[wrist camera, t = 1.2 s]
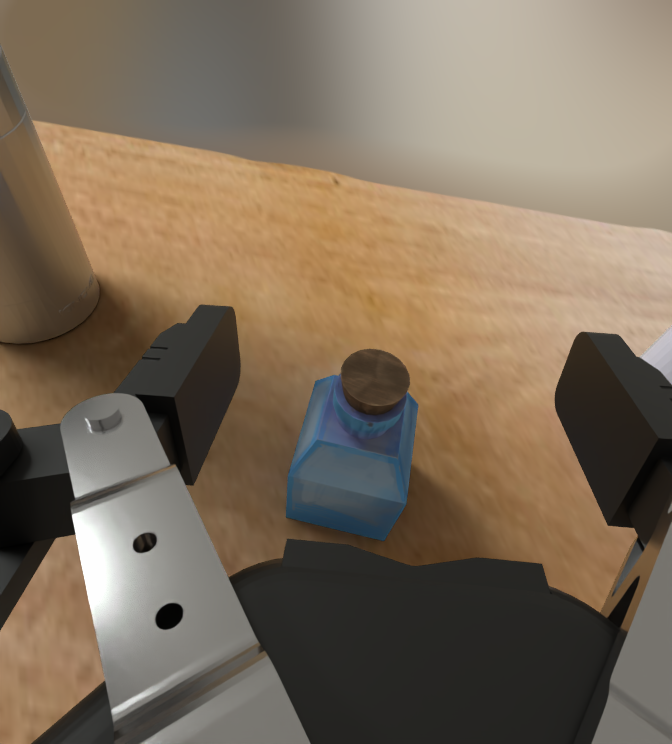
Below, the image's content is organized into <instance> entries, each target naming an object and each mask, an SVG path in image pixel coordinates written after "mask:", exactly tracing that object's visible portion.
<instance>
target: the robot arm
mask: <svg viewBox="0 0 672 744" xmlns="http://www.w3.org/2000/svg"><path fill="white" fill-rule="evenodd" d="M99 296H100V287H99V284H98V282H97V279H96V276H95V274H94V272H93V269H92V267H91V264H90V262H89V259H88V257H87V254H86V252H85V249H84V247H83V244H82V241H81V239H80V237H79V234H78V232H77V229H76V227H75V224H74V222H73V219H72V217H71V215H70V212H69V210H68V207H67V205H66V202H65V200H64V197H63V195H62V193H61V190H60V188H59V185H58V183H57V180H56V178H55V175H54V173H53V171H52V168H51V166H50V163H49V161H48V158H47V156H46V153H45V151H44V149H43V146H42V144H41V141H40V139H39V136H38V134H37V131H36V129H35V127H34V124H33V122H32V119H31V117H30V114H29V112H28V110H27V107H26V105H25V103H24V100H23V98H22V95H21V93H20V91H19V88H18V86H17V83H16V81H15V78H14V76H13V73H12V71H11V69H10V66H9V64H8V61H7V59H6V57H5V54H4V51H3V49H2V47H1V45H0V342H4V343H15V344H21V343H34V342H39V341H44V340H48V339H51V338H54V337H57V336H59V335H62V334H64V333H66V332H68V331H70V330H72V329H73V328H75V327H76V326H77V325H79V324H80V323H82V322H83V321H84V320H85V319H86V318H87V317H88V316H89V315H90V314H91V313H92V311H93V310H94V308H95V307H96V305H97V302H98V299H99ZM240 367H241V365H240V353H239V344H238V334H237V325H236V316H235V312H234V309H233V308H232V307H229V306H215V305H199V306H198V308H197V309H196V310H195V312H194V313H193V315H192V316H191V317H190V319H189V320H188V321H187V323H186V324H182V323H177V324H175V325H174V326H172V327H171V328H169V329H167V330H166V331H164V332H162V333H161V334H160V335H159V336H158V337H157V339H156V340H155V341H154V342H153V344H152V345H151V346H150V349H148V350H147V351H146V353H145V354H144V355H143V356H142V360H139V361H138V363H137V364H136V365H135V366H134V368H133V369H132V370H131V372H130V373H129V374H128V375H127V377H126V378H125V379H124V380H123V382H122V383H121V384H120V386H119V387H118V388H117V389H116V391H115V392H114V393H111V394H104V395H99V396H96V397H93V398H90V399H87V400H85V401H83V402H81V403H79V404H77V405H76V406H75V407H73V408H72V409H71V410H70V411H69V412H67V414H66V415H65V416H64V417H63V419H62V421H61V423H60V424H54V425H46V426H39V427H32V428H24V429H16V427H15V425H14V423H13V421H12V419H11V417H10V415H9V414H8V413H6V412H5V411H3V410H0V630H1V628H2V627H3V625H4V623H5V622H6V620H7V618H8V617H9V615H10V613H11V612H12V610H13V608H14V607H15V605H16V603H17V602H18V600H19V598H20V597H21V595H22V593H23V592H24V590H25V588H26V587H27V585H28V583H29V582H30V580H31V578H32V577H33V575H34V573H35V572H36V570H37V568H38V567H39V565H40V563H41V562H42V560H43V559H44V557H45V555H46V554H47V552H48V550H49V549H50V547H51V545H52V544H53V542H54V540H55V539H56V538H58V537H64V536H69V535H74V534H76V538H77V543H78V548H79V553H80V558H81V563H82V568H83V573H84V578H85V583H86V588H87V593H88V598H89V603H90V608H91V613H92V618H93V623H94V628H95V633H96V638H97V642H98V647H99V652H100V657H101V662H102V667H103V672H104V677H105V681H104V682H103V683H101V684H100V685H99V686H98V687H97V688H96V689H94V690H93V691H92V692H91V693H90V694H89V695H87V696H86V697H85V698H84V699H83V700H82V701H80V702H79V703H78V704H77V705H76V706H75V707H73V708H72V709H71V710H70V711H69V712H68V713H66V714H65V715H64V716H63V717H62V718H61V719H59V720H58V721H57V722H56V723H55V724H54V725H52V726H51V727H50V728H49V729H48V730H47V731H45V732H44V733H43V734H42V735H41V736H40V737H38V738H37V739H36V740H35V741H34V742H33V743H31V744H672V385H671V383H670V382H669V381H668V380H667V379H666V377H665V376H664V375H663V374H662V373H661V371H659V370H658V369H656V368H655V367H653V366H652V365H650V364H649V363H647V362H646V361H645V360H643V359H642V358H640V357H636V356H635V354H634V353H633V352H632V351H631V349H630V348H629V347H628V345H627V344H626V343H625V342H624V340H623V339H622V338H621V337H620V336H619V335H617V334H607V333H592V332H581V333H579V334H578V335H577V336H576V338H575V340H574V342H573V345H572V347H571V350H570V353H569V355H568V358H567V361H566V363H565V366H564V369H563V371H562V374H561V377H560V379H559V382H558V385H557V388H556V392H555V408H556V412H557V415H558V417H559V419H560V421H561V423H562V426H563V428H564V430H565V432H566V434H567V437H568V439H569V441H570V443H571V445H572V448H573V450H574V452H575V454H576V456H577V459H578V461H579V463H580V465H581V467H582V470H583V472H584V474H585V476H586V478H587V481H588V483H589V485H590V487H591V489H592V492H593V494H594V496H595V498H596V500H597V503H598V505H599V507H600V509H601V511H602V514H603V516H604V518H605V520H606V522H607V525H608V526H618V527H629V528H634V529H635V531H636V533H637V537H636V539H635V540H634V542H633V543H632V545H631V546H630V548H629V551H628V553H627V555H626V557H625V559H624V562H623V564H622V566H621V568H620V570H619V573H618V575H617V577H616V579H615V581H614V584H613V586H612V588H611V590H610V592H609V595H608V597H607V599H606V601H605V603H604V606H603V608H602V610H601V612H600V613H599V612H598V611H596V610H595V609H593V608H592V607H590V606H589V605H587V604H586V603H584V602H582V601H580V600H578V599H577V598H575V597H573V596H571V595H569V594H567V593H564V592H562V591H560V590H558V589H556V588H553V587H550V586H548V583H547V579H546V576H545V573H544V569H543V566H542V564H539V563H529V562H518V561H508V560H498V559H488V558H471V559H464V560H457V561H450V562H443V563H436V564H429V565H422V566H410V565H406V564H403V563H400V562H398V561H395V560H392V559H389V558H386V557H383V556H380V555H377V554H374V553H371V552H368V551H365V550H362V549H359V548H356V547H353V546H350V545H346V544H336V543H325V542H315V541H305V540H295V539H287V541H286V546H285V551H284V556H283V558H281V559H274V560H270V561H266V562H262V563H258V564H256V565H253V566H251V567H248V568H246V569H243V570H241V571H239V572H238V573H236V574H234V575H232V576H230V577H228V576H227V574H226V572H225V570H224V567H223V565H222V563H221V561H220V559H219V557H218V555H217V552H216V550H215V548H214V546H213V544H212V542H211V539H210V537H209V535H208V533H207V531H206V529H205V526H204V524H203V522H202V520H201V518H200V516H199V513H198V511H197V509H196V507H195V505H194V503H193V500H192V498H191V496H190V494H189V492H188V490H187V488H186V485H194V483H195V481H196V479H197V476H198V474H199V472H200V470H201V467H202V465H203V463H204V461H205V458H206V456H207V454H208V452H209V449H210V447H211V445H212V443H213V440H214V438H215V436H216V433H217V431H218V429H219V427H220V424H221V422H222V420H223V418H224V415H225V413H226V411H227V409H228V406H229V404H230V402H231V400H232V397H233V395H234V393H235V391H236V388H237V386H238V383H239V378H240Z"/></svg>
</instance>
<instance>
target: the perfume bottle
mask: <svg viewBox="0 0 672 744" xmlns="http://www.w3.org/2000/svg"><path fill="white" fill-rule="evenodd" d="M409 385H410V377H409V373H408V371H407V369H406V366H405V365H404V364H403V363H402V362H401V361H400V360H399V359H398V358H397V357H395V356H394V355H392V354H391V353H388V352H385V351H382V350H377V349H365V350H360V351H357V352H355V353H353V354H351V355H350V356H349V357H348V358H347V359H346V360H345V361H344V363H343V365H342V367H341V374H339V376H336V375H333V376H329V377H326V378H323V379H320V380H317V381H315V385H314V388H313V392H312V395H311V398H310V402H309V405H308V409H307V412H306V416H305V419H304V422H303V426H302V429H301V433H300V436H299V440H298V443H297V446H296V450H295V453H294V457H293V460H292V464H291V467H290V470H289V474H288V484H287V505H286V517H287V518H291V519H295V520H299V521H303V522H307V523H311V524H316V525H320V526H324V527H328V528H332V529H336V530H340V531H344V532H348V533H352V534H357V535H361V536H365V537H369V538H373V539H377V540H381V541H384V540H385V539H386V537H387V535H388V534H389V532H390V530H391V529H392V527H393V525H394V524H395V522H396V520H397V519H398V517H399V516H400V514H401V512H402V511H403V509H404V507H405V506H406V503H407V494H408V486H409V478H410V469H411V461H412V453H413V445H414V436H415V428H416V420H417V411H418V404H417V403H416V401H415V400H414V399H413V398H412V397H411V396H410V394H409V393H408V392H407V391H408V388H409Z"/></svg>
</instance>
